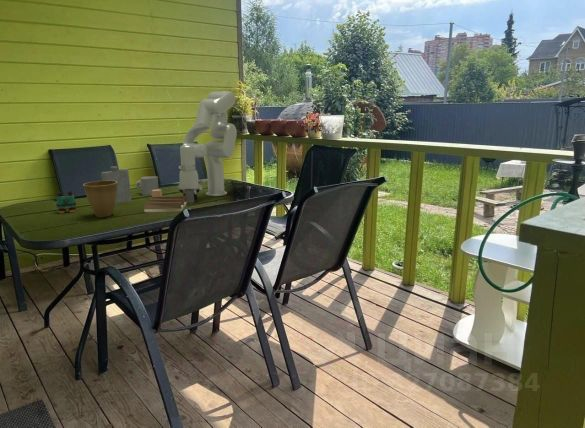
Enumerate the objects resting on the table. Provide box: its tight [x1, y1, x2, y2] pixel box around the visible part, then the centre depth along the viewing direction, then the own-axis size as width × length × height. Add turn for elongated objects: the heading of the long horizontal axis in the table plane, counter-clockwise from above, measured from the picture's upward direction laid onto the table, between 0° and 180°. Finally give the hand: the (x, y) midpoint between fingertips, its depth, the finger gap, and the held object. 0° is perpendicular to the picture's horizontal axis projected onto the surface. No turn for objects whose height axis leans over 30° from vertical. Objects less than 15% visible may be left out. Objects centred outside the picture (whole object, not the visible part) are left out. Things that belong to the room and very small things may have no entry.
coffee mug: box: [135, 175, 160, 196], centre depth 264 cm, size 13×10×10 cm
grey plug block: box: [185, 189, 196, 204], centre depth 240 cm, size 4×4×7 cm
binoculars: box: [56, 190, 77, 214], centre depth 220 cm, size 9×11×10 cm
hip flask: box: [100, 165, 132, 205], centre depth 238 cm, size 16×4×20 cm, turn 146°
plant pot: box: [82, 180, 117, 218], centre depth 209 cm, size 15×15×16 cm
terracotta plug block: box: [151, 189, 163, 198], centre depth 239 cm, size 4×4×7 cm
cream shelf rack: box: [143, 195, 188, 213], centre depth 226 cm, size 18×18×4 cm
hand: (190, 200), depth 240 cm, fingers closed on grey plug block, 4 cm apart
